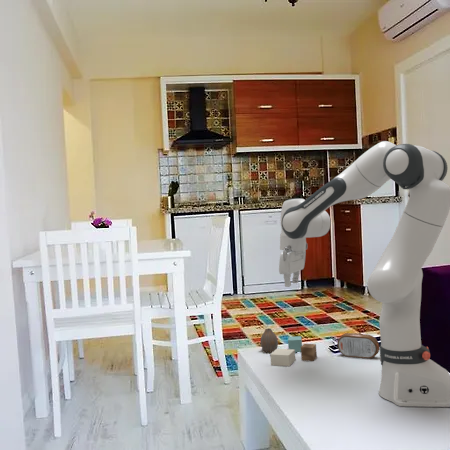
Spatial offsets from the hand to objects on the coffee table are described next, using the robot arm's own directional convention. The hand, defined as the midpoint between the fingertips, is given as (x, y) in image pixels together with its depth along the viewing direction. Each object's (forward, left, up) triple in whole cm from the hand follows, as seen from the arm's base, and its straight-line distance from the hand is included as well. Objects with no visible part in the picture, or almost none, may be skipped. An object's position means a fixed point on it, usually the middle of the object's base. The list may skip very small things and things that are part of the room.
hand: (291, 284), depth 177 cm
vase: (+17, -18, -30) cm, 39 cm away
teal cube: (+7, -20, -30) cm, 36 cm away
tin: (-18, -16, -30) cm, 38 cm away
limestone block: (+7, -5, -29) cm, 31 cm away
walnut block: (-1, -11, -30) cm, 32 cm away
